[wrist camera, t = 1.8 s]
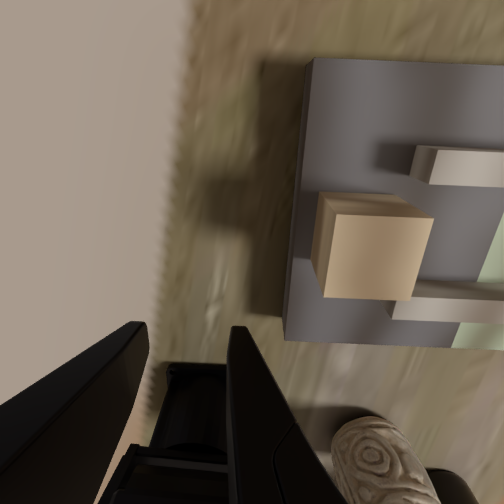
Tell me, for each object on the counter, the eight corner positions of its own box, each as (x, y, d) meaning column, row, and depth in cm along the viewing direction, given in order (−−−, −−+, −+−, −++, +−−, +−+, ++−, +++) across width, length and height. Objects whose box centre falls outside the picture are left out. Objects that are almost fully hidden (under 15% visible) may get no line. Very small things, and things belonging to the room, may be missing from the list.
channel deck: (281, 317, 23) (287, 363, 19) (306, 65, 16) (322, 49, 12) (581, 330, 23) (652, 379, 19) (729, 83, 16) (889, 73, 12)
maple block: (310, 259, 18) (323, 297, 14) (319, 191, 16) (336, 214, 13) (379, 262, 18) (409, 301, 14) (394, 194, 16) (434, 218, 13)
